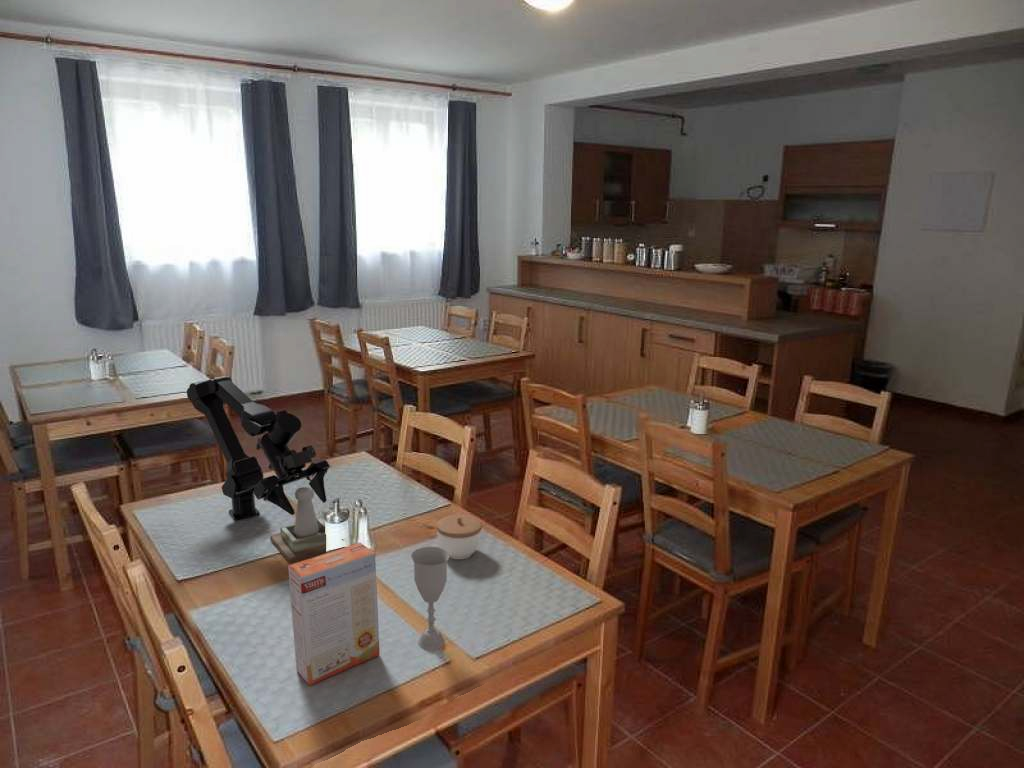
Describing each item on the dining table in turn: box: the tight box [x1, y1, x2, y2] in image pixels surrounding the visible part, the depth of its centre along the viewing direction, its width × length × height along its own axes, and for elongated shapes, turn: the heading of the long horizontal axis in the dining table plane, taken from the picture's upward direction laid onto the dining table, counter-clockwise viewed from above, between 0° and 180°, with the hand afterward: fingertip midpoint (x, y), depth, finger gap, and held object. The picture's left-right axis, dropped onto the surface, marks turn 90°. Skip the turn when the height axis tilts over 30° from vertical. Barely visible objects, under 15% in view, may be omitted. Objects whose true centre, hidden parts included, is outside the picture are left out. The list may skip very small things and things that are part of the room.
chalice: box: [410, 546, 450, 651], centre depth 130 cm, size 7×7×18 cm
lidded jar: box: [436, 513, 483, 560], centre depth 165 cm, size 11×11×9 cm
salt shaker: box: [294, 486, 319, 540], centre depth 168 cm, size 6×6×13 cm
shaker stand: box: [269, 517, 326, 564], centre depth 170 cm, size 14×14×4 cm
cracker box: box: [287, 542, 381, 686], centre depth 123 cm, size 14×6×21 cm, turn 129°
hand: (309, 507), depth 167 cm, fingers open, 9 cm apart
